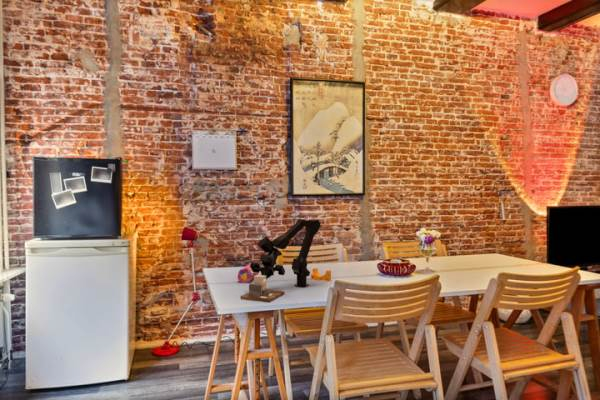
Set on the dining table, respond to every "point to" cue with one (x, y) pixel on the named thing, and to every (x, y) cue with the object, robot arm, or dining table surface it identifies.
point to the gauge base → (275, 295)
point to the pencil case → (246, 274)
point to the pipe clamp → (319, 277)
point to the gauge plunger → (260, 281)
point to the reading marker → (265, 292)
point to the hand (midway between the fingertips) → (262, 282)
